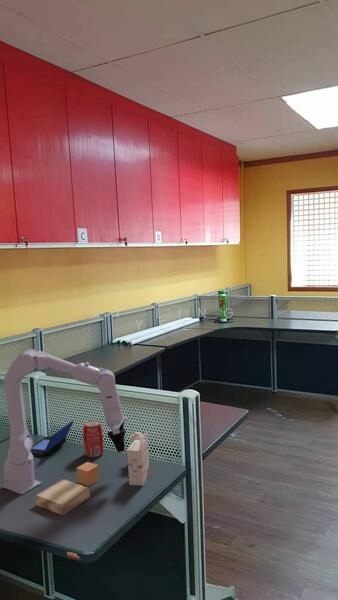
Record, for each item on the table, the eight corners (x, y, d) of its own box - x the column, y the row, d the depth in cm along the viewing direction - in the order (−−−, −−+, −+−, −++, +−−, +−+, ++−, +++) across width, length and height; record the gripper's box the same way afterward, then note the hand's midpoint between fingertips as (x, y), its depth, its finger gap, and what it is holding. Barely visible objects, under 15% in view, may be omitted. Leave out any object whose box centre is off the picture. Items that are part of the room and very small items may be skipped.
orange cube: (77, 482, 149) (76, 467, 148) (88, 476, 153) (87, 461, 152) (88, 486, 146) (87, 471, 146) (99, 479, 150) (98, 465, 150)
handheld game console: (46, 439, 186) (45, 417, 185) (75, 442, 182) (74, 419, 181) (23, 456, 171) (21, 432, 170) (54, 459, 167) (52, 435, 166)
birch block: (36, 506, 136) (35, 495, 136) (63, 489, 145) (63, 479, 145) (63, 516, 130) (62, 504, 130) (89, 498, 139) (89, 487, 139)
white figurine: (128, 460, 164) (126, 427, 163) (137, 456, 166) (136, 424, 165) (141, 468, 156) (140, 435, 155) (151, 465, 159) (149, 432, 158)
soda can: (94, 449, 174) (92, 418, 173) (107, 453, 170) (106, 421, 169) (80, 455, 169) (78, 424, 167) (94, 460, 164) (92, 428, 163)
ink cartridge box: (135, 472, 154) (133, 430, 153) (149, 473, 153) (148, 431, 152) (128, 485, 146) (126, 440, 144) (143, 486, 145) (141, 441, 143)
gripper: (124, 411, 142) (134, 452, 143) (123, 397, 156) (131, 434, 158) (102, 417, 141) (111, 458, 143) (103, 402, 155) (111, 439, 157)
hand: (120, 446), depth 150 cm, fingers open, 7 cm apart
